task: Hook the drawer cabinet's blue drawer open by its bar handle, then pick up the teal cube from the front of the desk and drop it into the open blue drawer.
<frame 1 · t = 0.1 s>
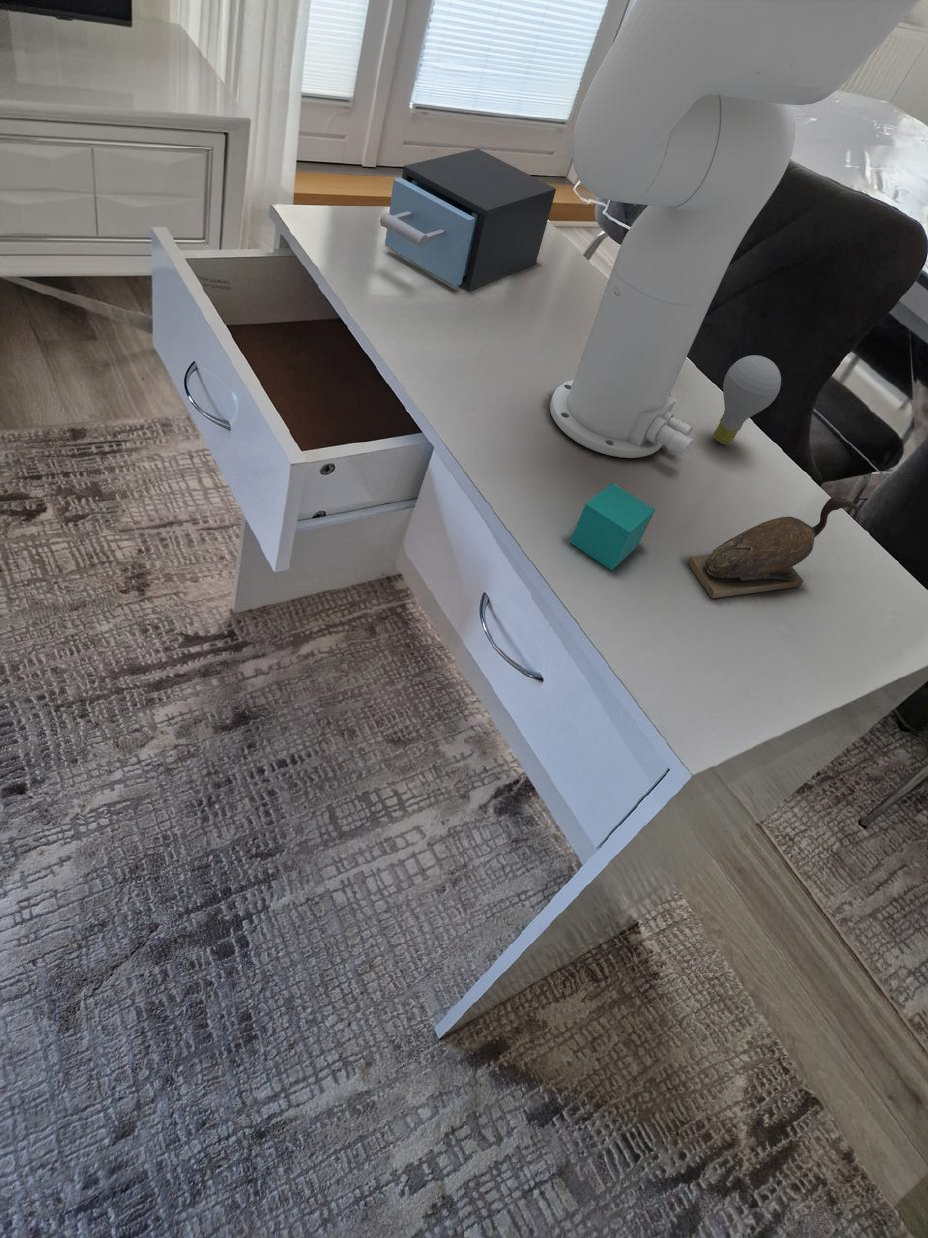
blue drawer: (448, 225, 98), point 5 cm above the table, slide at 1.0 cm
teal cube: (603, 545, 72), on the table
figurine: (760, 574, 74), on the table
light bulb: (719, 443, 87), on the table
drawer cabinet: (465, 255, 105), on the table
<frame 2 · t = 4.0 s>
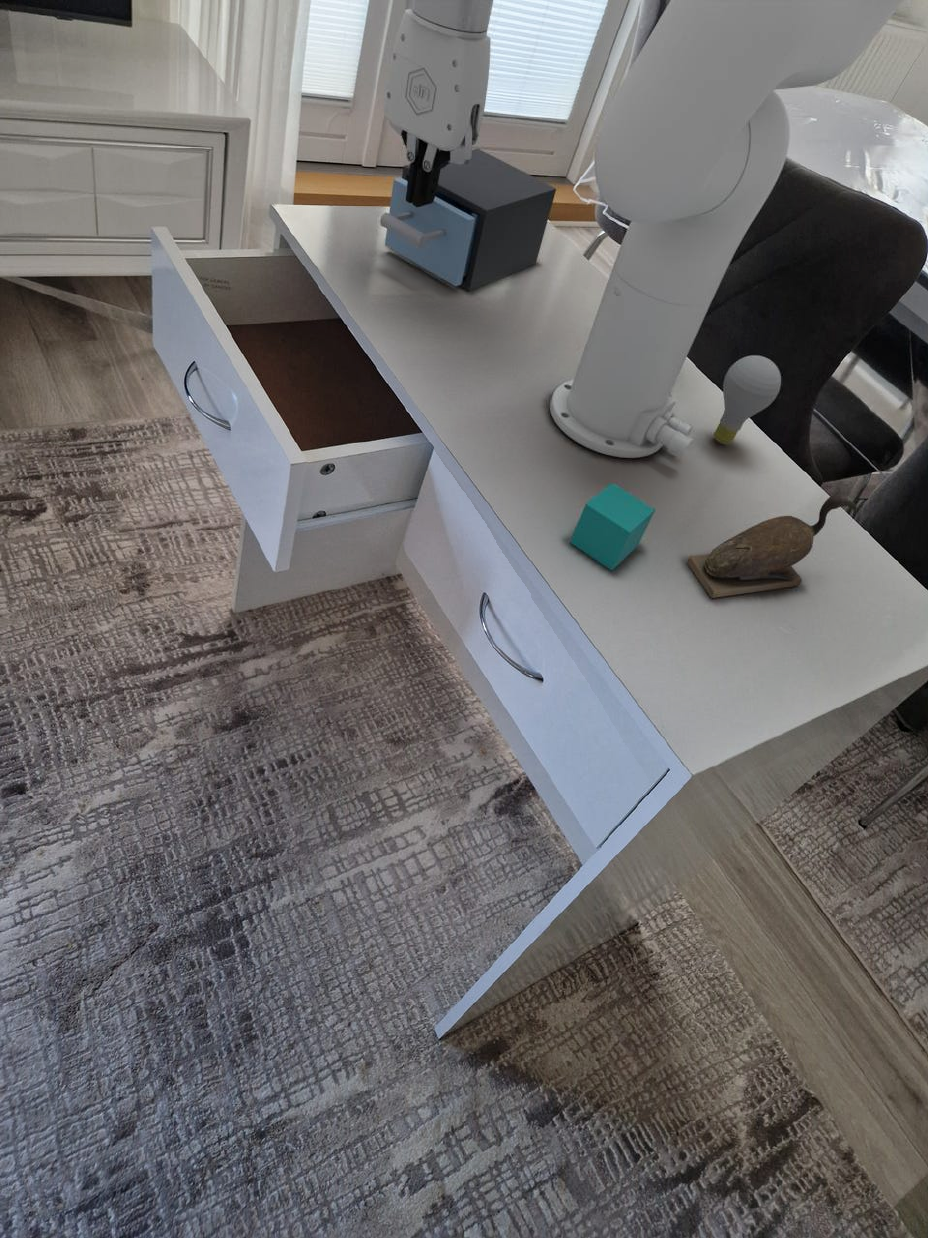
hand: (419, 201, 92), 9 cm above the table, tool pointing down, fingers closed
blue drawer: (448, 225, 98), point 5 cm above the table, slide at 1.0 cm, touching gripper
everything else where it was.
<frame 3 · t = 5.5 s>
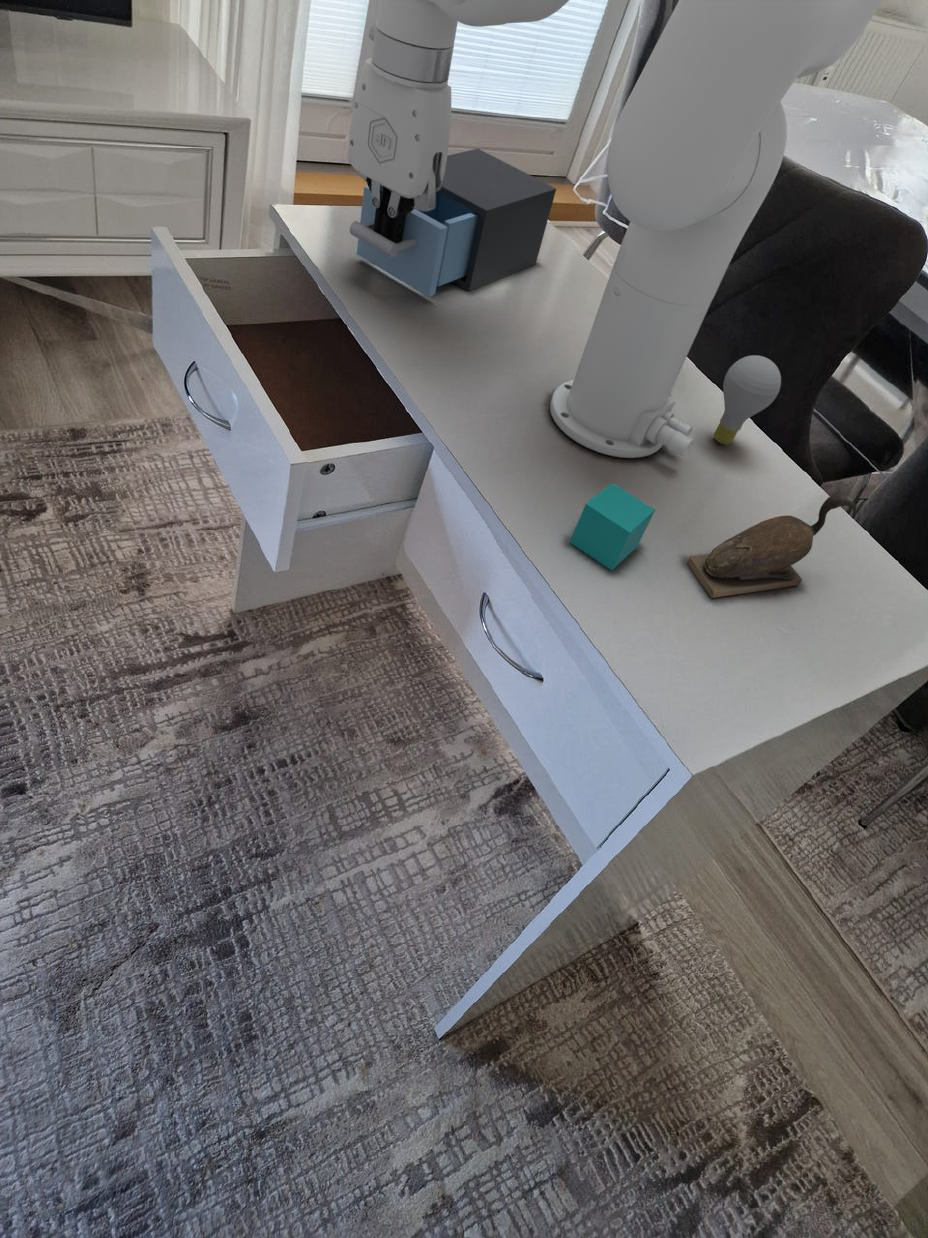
hand: (386, 246, 91), 5 cm above the table, tool pointing down, fingers closed
blue drawer: (421, 234, 95), point 5 cm above the table, slide at 6.0 cm, touching gripper
everything else where it was.
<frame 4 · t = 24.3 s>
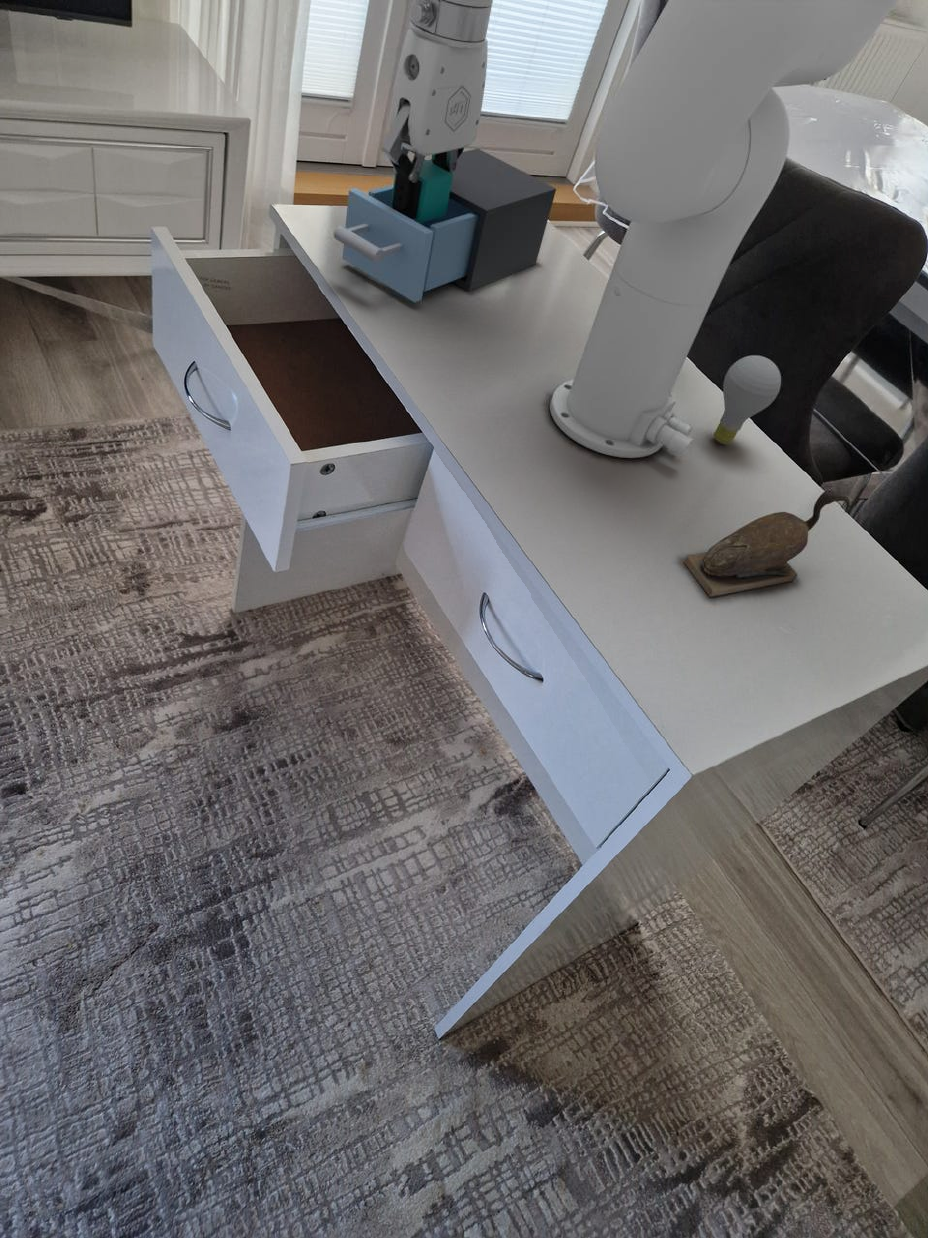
hand: (419, 207, 92), 8 cm above the table, tool pointing down, fingers closed on teal cube, 4 cm apart
blue drawer: (407, 238, 93), point 5 cm above the table, slide at 8.4 cm
teal cube: (418, 210, 92), point 8 cm above the table, touching gripper
everything else where it was.
when the fingers open (9 cm above the table, at t = 30.8 s): teal cube drops 7 cm, resting on blue drawer.
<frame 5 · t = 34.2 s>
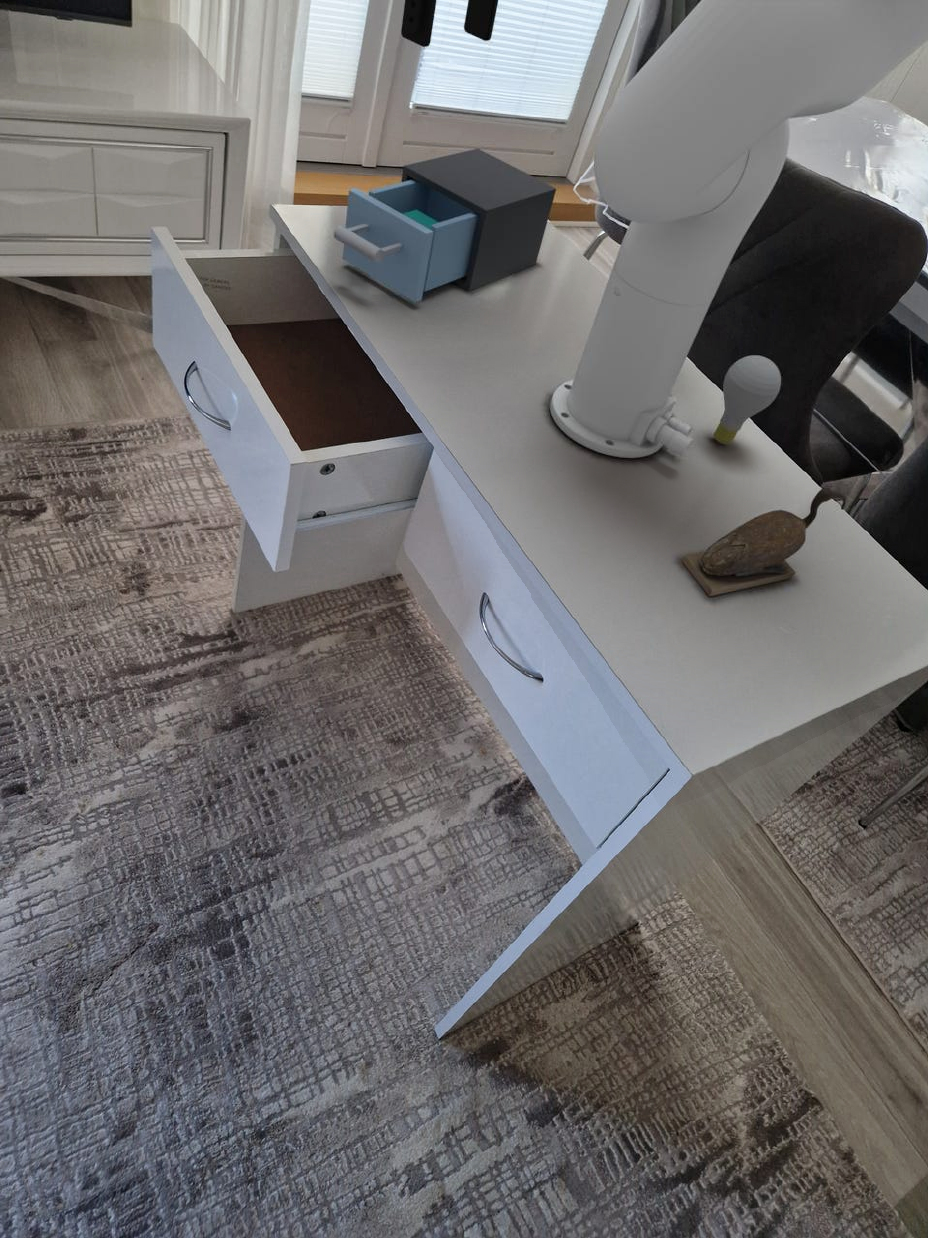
hand: (447, 38, 80), 24 cm above the table, tool pointing down, fingers open, 9 cm apart
blue drawer: (407, 238, 93), point 5 cm above the table, slide at 8.4 cm, touching teal cube
teal cube: (411, 259, 96), point 2 cm above the table, touching blue drawer
everything else where it was.
at the end: blue drawer slide at 8.4 cm; teal cube inside the target area in the drawer cabinet (7.1 cm from its centre), point 2.0 cm above the drawer cabinet's base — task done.
